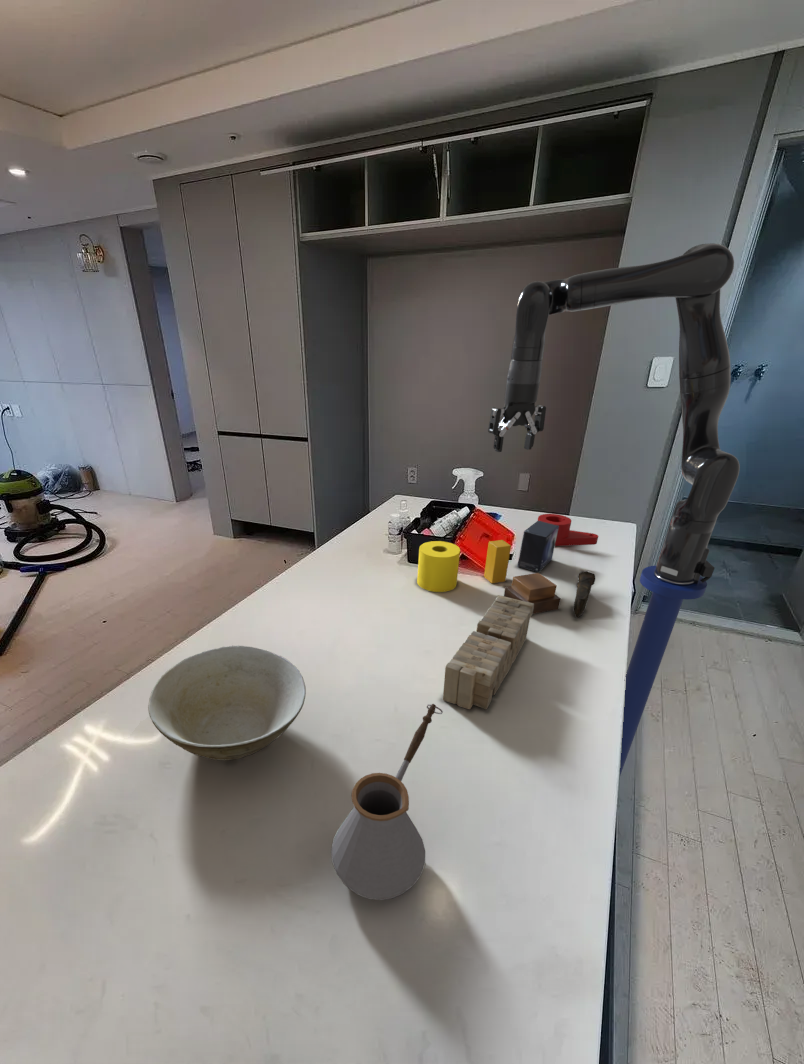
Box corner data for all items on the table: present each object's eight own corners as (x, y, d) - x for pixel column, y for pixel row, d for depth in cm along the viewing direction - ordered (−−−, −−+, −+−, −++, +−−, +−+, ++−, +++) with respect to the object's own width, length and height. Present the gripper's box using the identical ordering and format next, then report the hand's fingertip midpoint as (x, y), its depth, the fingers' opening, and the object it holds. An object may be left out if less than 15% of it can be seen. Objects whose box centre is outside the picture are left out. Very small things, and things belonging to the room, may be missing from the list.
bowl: (336, 720, 86) (335, 672, 81) (236, 822, 69) (227, 769, 64) (236, 673, 97) (230, 629, 93) (128, 751, 80) (113, 702, 75)
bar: (497, 574, 134) (502, 539, 129) (505, 581, 131) (511, 545, 126) (483, 576, 133) (488, 541, 128) (491, 583, 130) (496, 547, 125)
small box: (540, 573, 135) (547, 536, 130) (516, 567, 138) (522, 531, 133) (553, 560, 142) (560, 524, 137) (530, 554, 146) (536, 519, 140)
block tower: (482, 719, 87) (530, 635, 109) (488, 681, 83) (536, 601, 104) (440, 703, 91) (494, 625, 112) (443, 665, 87) (499, 591, 108)
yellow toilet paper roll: (455, 575, 134) (459, 542, 129) (457, 593, 125) (460, 558, 121) (417, 573, 135) (420, 540, 131) (416, 590, 127) (418, 556, 122)
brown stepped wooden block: (535, 592, 126) (539, 570, 123) (558, 609, 118) (563, 586, 115) (503, 597, 123) (506, 575, 120) (524, 615, 116) (529, 592, 113)
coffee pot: (398, 932, 56) (403, 846, 49) (313, 880, 62) (307, 795, 54) (466, 796, 72) (478, 716, 65) (394, 764, 78) (398, 687, 70)
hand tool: (576, 583, 130) (580, 566, 128) (593, 586, 128) (597, 570, 126) (563, 616, 116) (567, 599, 113) (582, 621, 114) (586, 603, 112)
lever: (536, 544, 152) (540, 523, 148) (532, 533, 160) (536, 513, 156) (600, 548, 149) (605, 527, 146) (593, 536, 157) (598, 516, 154)
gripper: (505, 383, 115) (496, 455, 123) (558, 381, 119) (546, 451, 127) (488, 380, 122) (480, 449, 130) (539, 378, 125) (528, 445, 133)
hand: (513, 450), depth 128 cm, fingers open, 8 cm apart
